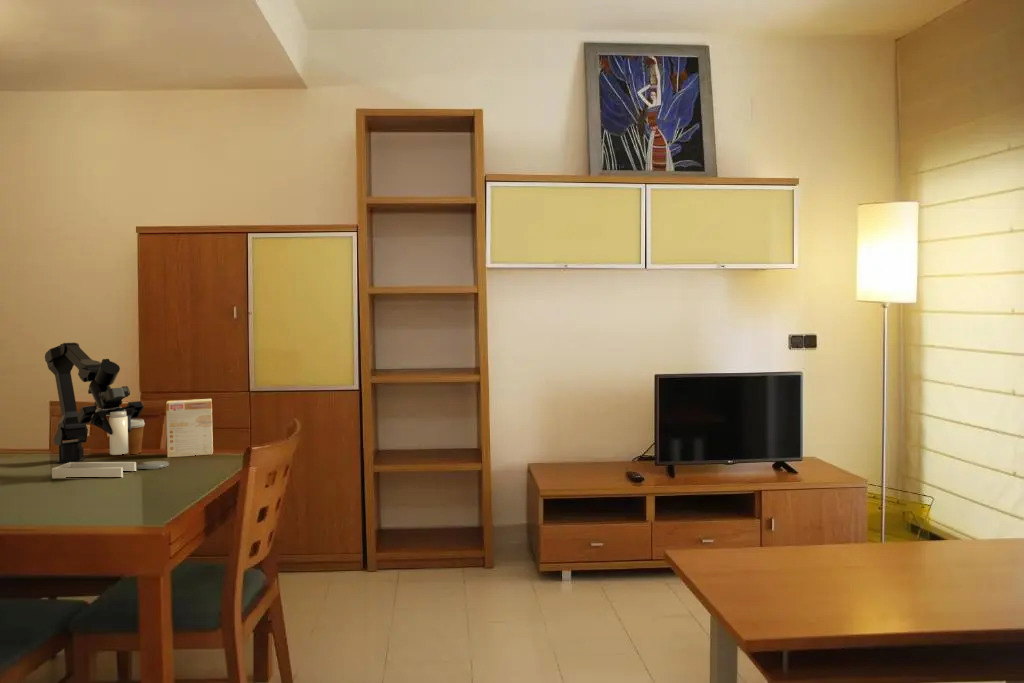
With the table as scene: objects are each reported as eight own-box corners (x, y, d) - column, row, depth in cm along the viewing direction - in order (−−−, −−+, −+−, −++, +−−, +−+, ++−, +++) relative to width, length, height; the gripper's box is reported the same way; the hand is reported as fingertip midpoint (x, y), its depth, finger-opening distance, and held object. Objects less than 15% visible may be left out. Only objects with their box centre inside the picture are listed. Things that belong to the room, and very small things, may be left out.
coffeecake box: (213, 451, 290) (212, 398, 289) (212, 454, 283) (211, 400, 283) (168, 454, 285) (167, 400, 284) (167, 457, 278) (165, 402, 278)
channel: (52, 478, 245) (51, 468, 245) (69, 471, 255) (69, 462, 255) (121, 477, 245) (121, 468, 245) (136, 471, 255) (136, 461, 255)
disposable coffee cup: (137, 456, 281) (137, 422, 281) (111, 456, 281) (110, 422, 281) (150, 451, 291) (149, 418, 290) (124, 451, 291) (124, 418, 290)
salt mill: (106, 454, 247) (105, 413, 247) (114, 451, 253) (113, 410, 252) (123, 454, 247) (122, 413, 247) (131, 451, 253) (130, 410, 252)
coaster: (129, 470, 257) (129, 466, 257) (143, 463, 267) (143, 461, 267) (160, 469, 257) (160, 466, 257) (173, 463, 267) (173, 460, 267)
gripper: (80, 380, 244) (98, 419, 238) (140, 376, 259) (158, 412, 252) (69, 404, 249) (86, 442, 243) (129, 398, 264) (146, 435, 258)
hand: (120, 432), depth 249 cm, fingers closed on salt mill, 5 cm apart
